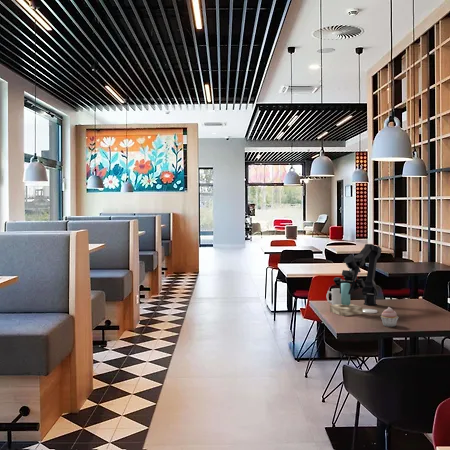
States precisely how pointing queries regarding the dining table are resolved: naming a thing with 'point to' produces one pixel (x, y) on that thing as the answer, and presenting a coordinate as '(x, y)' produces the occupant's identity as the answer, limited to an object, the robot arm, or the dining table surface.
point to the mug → (334, 296)
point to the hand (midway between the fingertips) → (344, 293)
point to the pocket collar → (346, 309)
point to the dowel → (345, 293)
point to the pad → (369, 311)
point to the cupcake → (389, 317)
